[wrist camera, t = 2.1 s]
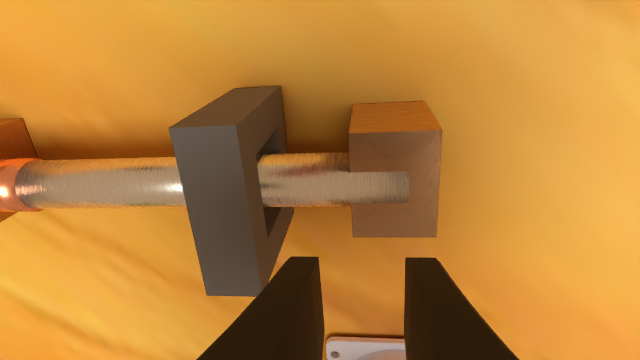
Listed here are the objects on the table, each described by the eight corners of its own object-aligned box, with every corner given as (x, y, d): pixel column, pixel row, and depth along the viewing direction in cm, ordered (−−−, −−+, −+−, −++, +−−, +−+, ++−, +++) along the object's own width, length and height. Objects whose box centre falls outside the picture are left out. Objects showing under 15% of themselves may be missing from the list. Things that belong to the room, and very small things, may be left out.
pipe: (425, 100, 16) (443, 132, 12) (421, 187, 18) (437, 241, 14) (-32, 120, 19) (-142, 151, 15) (0, 193, 21) (-93, 240, 17)
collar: (280, 86, 16) (235, 125, 11) (293, 212, 19) (262, 296, 13) (234, 88, 17) (168, 127, 11) (253, 212, 19) (206, 295, 14)
